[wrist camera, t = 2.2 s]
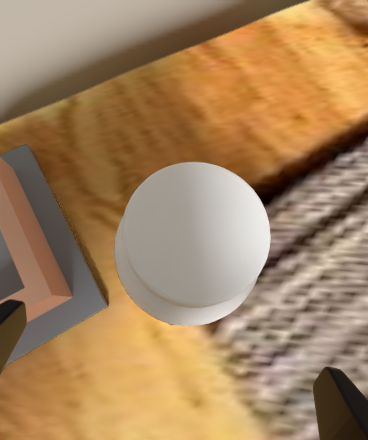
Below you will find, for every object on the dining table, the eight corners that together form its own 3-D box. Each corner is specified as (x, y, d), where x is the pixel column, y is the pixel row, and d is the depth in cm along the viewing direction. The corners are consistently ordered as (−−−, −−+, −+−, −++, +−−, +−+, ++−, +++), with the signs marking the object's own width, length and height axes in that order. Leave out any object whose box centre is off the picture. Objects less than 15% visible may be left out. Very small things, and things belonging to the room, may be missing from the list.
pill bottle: (218, 325, 18) (294, 353, 8) (124, 311, 18) (71, 320, 8) (227, 234, 20) (298, 156, 10) (142, 221, 20) (119, 126, 9)
